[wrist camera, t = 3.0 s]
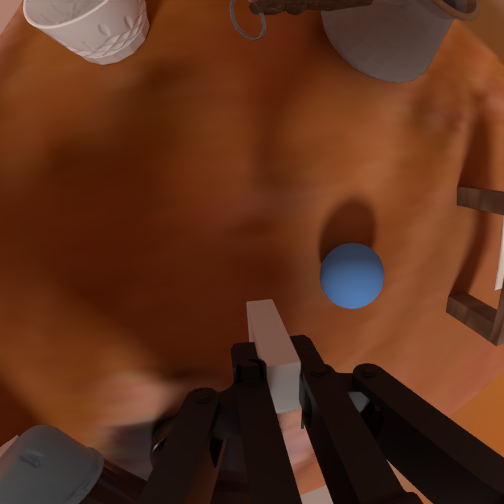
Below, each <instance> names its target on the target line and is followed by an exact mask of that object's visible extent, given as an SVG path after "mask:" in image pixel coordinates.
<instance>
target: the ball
mask: <svg viewBox="0 0 504 504" xmlns="http://www.w3.org/2000/svg"><path fill="white" fill-rule="evenodd" d="M320 282H321V286H322V289H323V291H324V293H325V294H326V296H327V297H328V298H329V299H330V300H331V301H332V302H333V303H335V304H336V305H338V306H341V307H343V308H349V309H354V308H360V307H363V306H365V305H367V304H369V303H370V302H372V301H373V300H374V299H375V298H376V297H377V296H378V294H379V293H380V291H381V289H382V286H383V283H384V268H383V264H382V262H381V260H380V258H379V256H378V255H377V254H376V253H375V252H374V251H373V250H372V249H371V248H369V247H368V246H365V245H363V244H359V243H346V244H342V245H340V246H337V247H336V248H334V249H333V250H332V251H331V252H330V253H329V254H328V255H327V256H326V258H325V259H324V261H323V263H322V266H321V270H320Z"/></svg>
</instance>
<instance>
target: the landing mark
mask: <svg viewBox="0 0 504 504" xmlns="http://www.w3.org/2000/svg"><path fill="white" fill-rule="evenodd" d="M503 278H504V215H503V226H502V238H501V248H500V256H499V264H498V271H497V277H496V283H495V289H494V290H498V289H501V288H502V284H503Z"/></svg>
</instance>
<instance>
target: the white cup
mask: <svg viewBox="0 0 504 504" xmlns="http://www.w3.org/2000/svg"><path fill="white" fill-rule="evenodd" d="M23 11H24V15H25V18H26V20H27V21H28V22H29V23H30V24H31V25H33V26H34V27H36V28H38V29H39V30H41V31H42V32H44V33H45V34H47V35H48V36H50V37H51V38H53V39H54V40H56V41H57V42H58V43H60V44H61V45H63V46H65V47H67V48H68V49H69V50H71V51H72V52H74V53H76V54H78V55H80V56H82V57H83V58H84V59H86V60H87V61H89V62H92V63H96V64H100V65H105V64H111V63H116V62H119V61H121V60H123V59H125V58H126V57H128V56H130V55H131V54H133V53H134V52H135V51H136V50H137V49H138V48H139V47H140V45H141V44H142V43H143V42H144V41H145V39H146V36H147V33H148V30H149V27H150V25H149V20H148V15H147V11H146V2H145V0H24V4H23Z"/></svg>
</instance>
